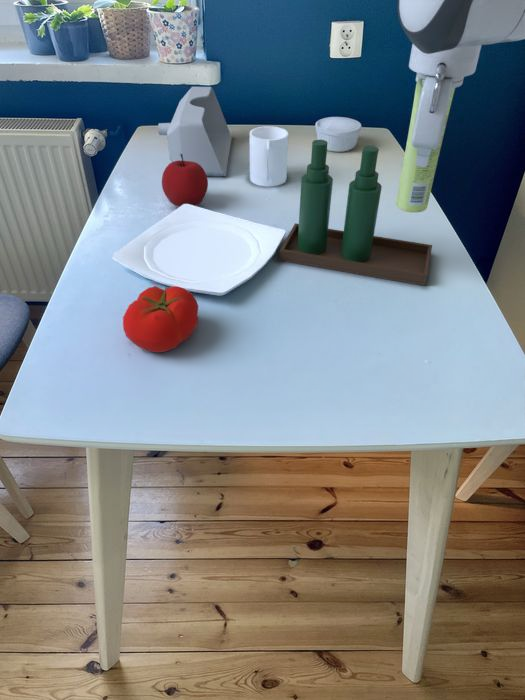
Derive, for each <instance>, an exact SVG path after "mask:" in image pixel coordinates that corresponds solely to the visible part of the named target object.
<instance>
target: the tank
mask: <svg viewBox="0 0 525 700" xmlns="http://www.w3.org/2000/svg"><path fill="white" fill-rule="evenodd" d="M157 130H158V131H157V132H158V135H159V136H166V138H167V147H168V155H169V157H168V158H169V160H170V162H171V163H172V162H174V161H182V158H181V155H180V154H182V156H183V161H191V162H196V163H198V164H199V165H201V167H202V168H203V169H204V171H205V173H206V176H207V177H226V176H227V170H228V164H229V158H230V150H231V145H232V135H231V132H230V129H229V127H228V124H227V122H226V119H225V117H224V113H223V111H222V108H221V106H220V103H219V100H218V98H217V96H216V93H215V90H214V89H213V87H212V86H191V87H190V89H189V90H188V91H187V92H186V93H185V94H184V96H183V97H182V98H181V99H180V100H179V102H178V105H177V107H176V109H175V112H174V114H173V117H172V119H171V121H170V122H158V126H157Z"/></svg>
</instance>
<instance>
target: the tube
mask: <svg viewBox="0 0 525 700" xmlns="http://www.w3.org/2000/svg"><path fill="white" fill-rule="evenodd" d="M421 80H422V78H418V80H417V82H416V84H415V90H414V97H413V104H412V109H411V117H410V123H409V126H408V134H407V138H406V139H407V140H406V145H405V151H404V157H403V161H402V166H401V167H402V168H401V174H400V179H399V184H398V190H397V196H396V201H395V206H396V207H397V208H398V209H399V210H401V211H403V212H407V213H422V212H424V211H426V210H427V209H428V205H429V201H430V197H431V193H432V187H433V183H434V178H435V175H436V171H437V166H438V161H439V157H440V152H441V149H442V144H443V139H444V135H445V132H446V127H447V122H448V119H449V114H450V109H451V106H452V102H453V99H454V98H453V97H454V94H455V91H456V88H452V89H451V95H450V100H449V104H448V109H447V113H446V118H445V122H444V127H443V131H442V136H441V140H440V144H439V146H438V148H437V149H432V150H431V153H430V157H429V161H428V165H427V166H426V167H418V166H416V165H415V161H416V156H417V147H413V146H412V135H413V130H414V125H415V120H416V115H417V110H418V105H419V100H420V95H421V91H422V88H423V85H421ZM429 112H430V111H429ZM430 113H431V112H430ZM432 113H434V111H433V112H432Z"/></svg>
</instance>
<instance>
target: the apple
mask: <svg viewBox="0 0 525 700" xmlns="http://www.w3.org/2000/svg"><path fill="white" fill-rule="evenodd" d="M180 155H181V158H182V161H174V162H172V161H171V162H170V163H168V165H167V166H165V169H163V173H162V176H161V188H162V192H163V194H164V195H165V197H166V198H167V200H168V201H169V202H170V203H171V204H172V205H173V206H175V207H178V208H179V207H180V206H182V205H183V204H190V205H193V206H199V205H200V204H201V203H202V202H203V200H204V199H205V197H206V195H207V192H208V188H209V180H208V176H206V173H205V171H204V169H203V168H202V167H201V165H199V164H198V163H196V162H191V161H183V156H182V154H180Z"/></svg>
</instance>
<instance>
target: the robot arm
mask: <svg viewBox="0 0 525 700" xmlns="http://www.w3.org/2000/svg"><path fill="white" fill-rule="evenodd" d="M397 15H398V16H397V17H398V21H399V23H400V26H401V28H402V31H403V33H404V34H405V36H406V37H407V38H408V40H409V41H410V42H411V44H412V45H411V50H410V54H409V55H410V56H409V61H408V68H409V69H410V70H411V71H412V72H415V73H416V74H415V82H416V83H417V80H418V78H422V80H421V85H423V88H422V91H421V95H420V100H419V105H418V110H417V115H416V120H415V125H414V130H413V135H412V146H413V147H417V156H416V161H415V165H416V166H418V167H426V166H427V165H428V161H429V157H430V153H431V150H432V149H437V148H438V146H439V144H440V140H441V136H442V131H443V127H444V122H445V118H446V113H447V109H448V104H449V100H450V95H451V89H452V88H455V89H456V88H459V87H461V86H462V85H463V84H464V78H465V77H469V76H472V75H474V73H475V72H476V70H477V65H478V62H479V58H480V53H481V49H482V46H486V45H487V46H488V45H494V44H500V43H510V42H518V41H522V40H525V0H397ZM429 111H430V112H431V113H430V112H429ZM433 111H434V113H432V112H433Z"/></svg>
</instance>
